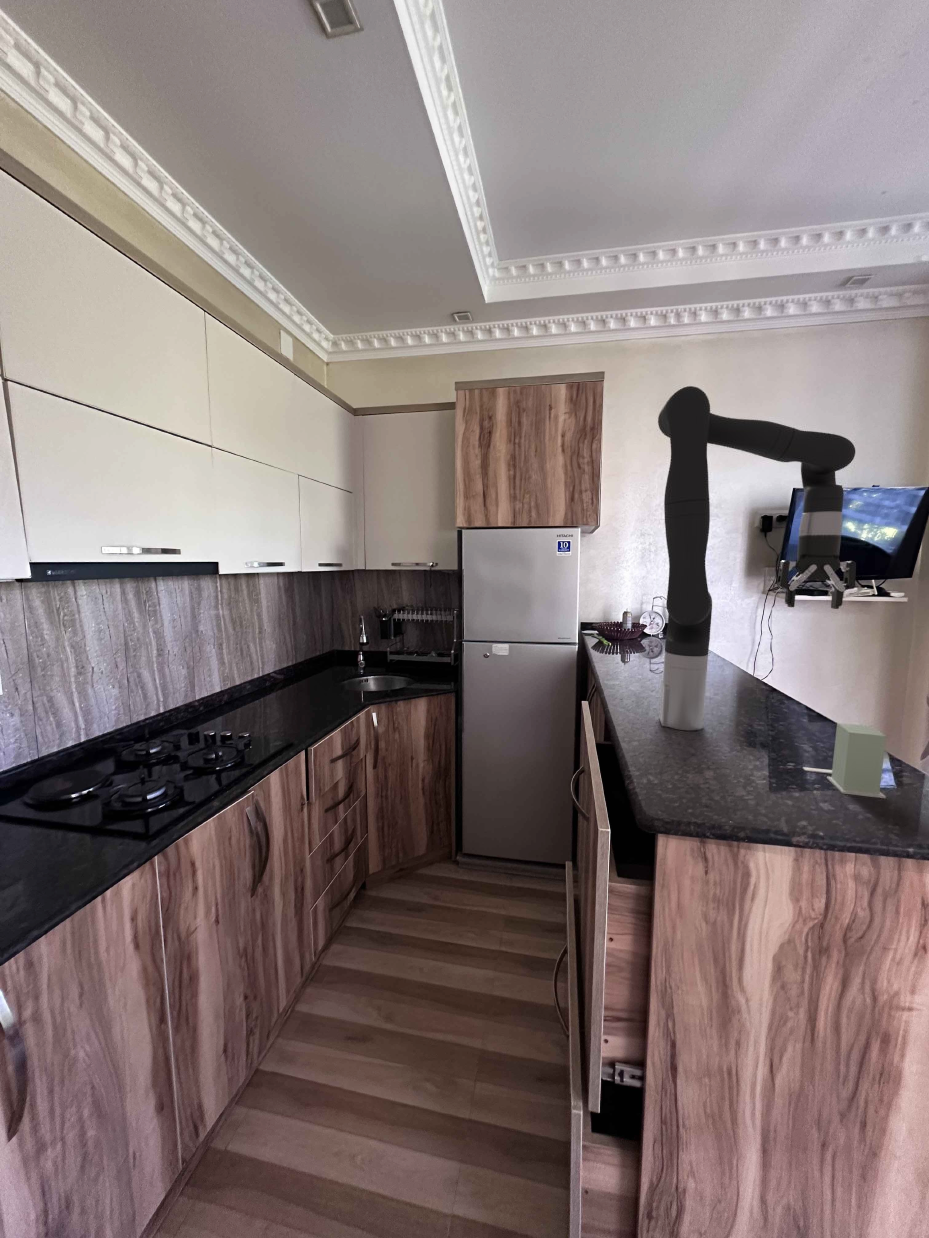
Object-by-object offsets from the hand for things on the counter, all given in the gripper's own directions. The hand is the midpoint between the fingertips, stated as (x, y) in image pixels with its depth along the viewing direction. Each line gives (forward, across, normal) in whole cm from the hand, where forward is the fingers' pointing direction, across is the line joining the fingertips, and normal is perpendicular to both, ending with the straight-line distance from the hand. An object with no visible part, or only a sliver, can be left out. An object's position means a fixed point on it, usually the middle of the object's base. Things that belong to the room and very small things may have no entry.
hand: (812, 607), depth 109 cm
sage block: (+28, -2, -31) cm, 42 cm away
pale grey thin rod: (+28, -2, -25) cm, 38 cm away
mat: (+28, -2, -31) cm, 42 cm away
